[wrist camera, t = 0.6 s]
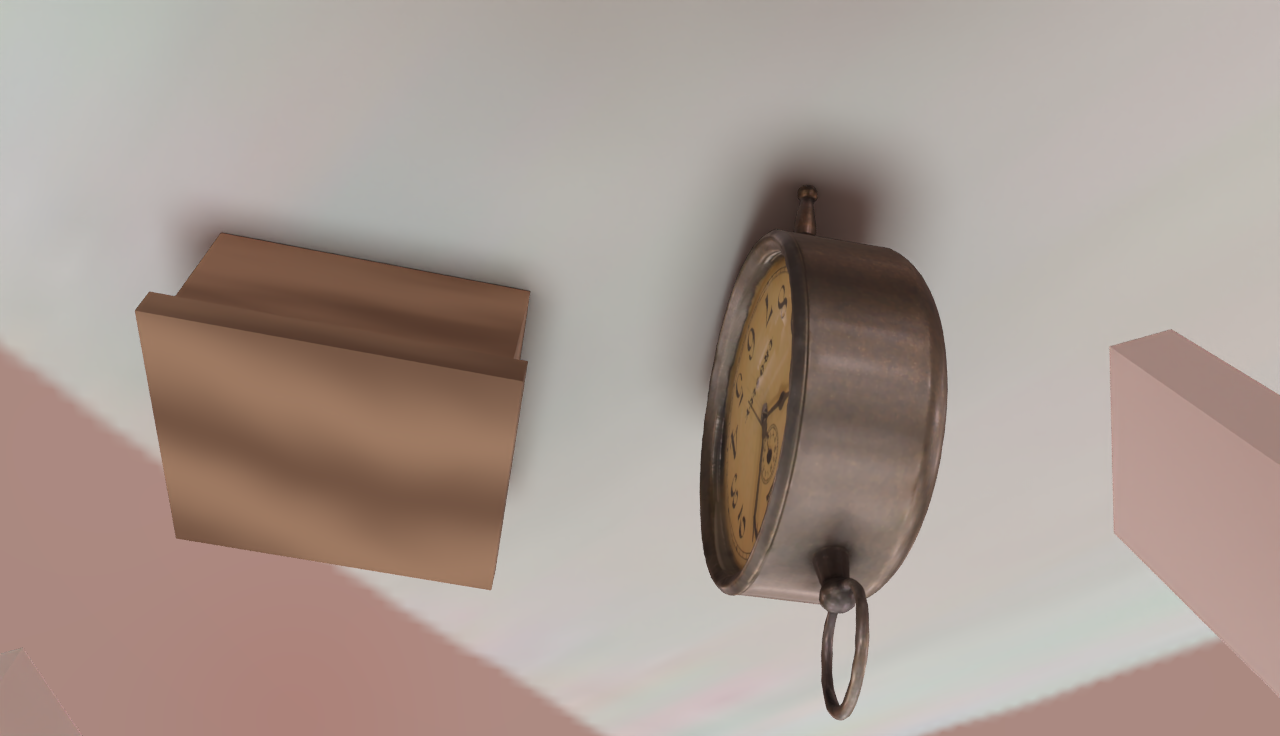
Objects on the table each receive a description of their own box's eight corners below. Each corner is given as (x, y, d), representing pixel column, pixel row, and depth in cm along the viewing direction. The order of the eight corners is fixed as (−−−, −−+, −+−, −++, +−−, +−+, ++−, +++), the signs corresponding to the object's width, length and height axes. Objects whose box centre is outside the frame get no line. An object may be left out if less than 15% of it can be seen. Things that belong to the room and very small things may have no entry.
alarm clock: (769, 143, 31) (807, 541, 19) (932, 177, 31) (1076, 587, 19) (692, 394, 38) (683, 805, 26) (826, 419, 38) (881, 834, 26)
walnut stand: (205, 218, 34) (134, 310, 30) (545, 283, 35) (523, 381, 31) (230, 438, 41) (176, 538, 37) (513, 487, 42) (490, 590, 38)
